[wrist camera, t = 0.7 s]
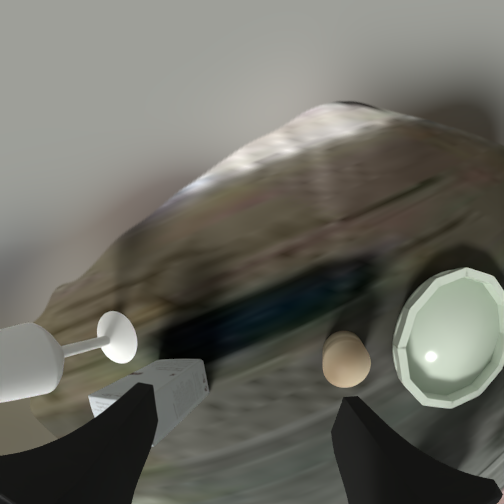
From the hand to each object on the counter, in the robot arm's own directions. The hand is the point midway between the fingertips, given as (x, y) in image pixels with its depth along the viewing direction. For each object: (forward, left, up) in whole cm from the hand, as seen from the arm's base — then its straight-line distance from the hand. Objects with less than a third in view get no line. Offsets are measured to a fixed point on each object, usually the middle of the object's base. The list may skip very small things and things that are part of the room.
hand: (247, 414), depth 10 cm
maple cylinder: (-5, -2, -19) cm, 20 cm away
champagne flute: (+13, +17, -19) cm, 28 cm away
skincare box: (+4, +13, -19) cm, 23 cm away
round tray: (-13, -11, -19) cm, 25 cm away
